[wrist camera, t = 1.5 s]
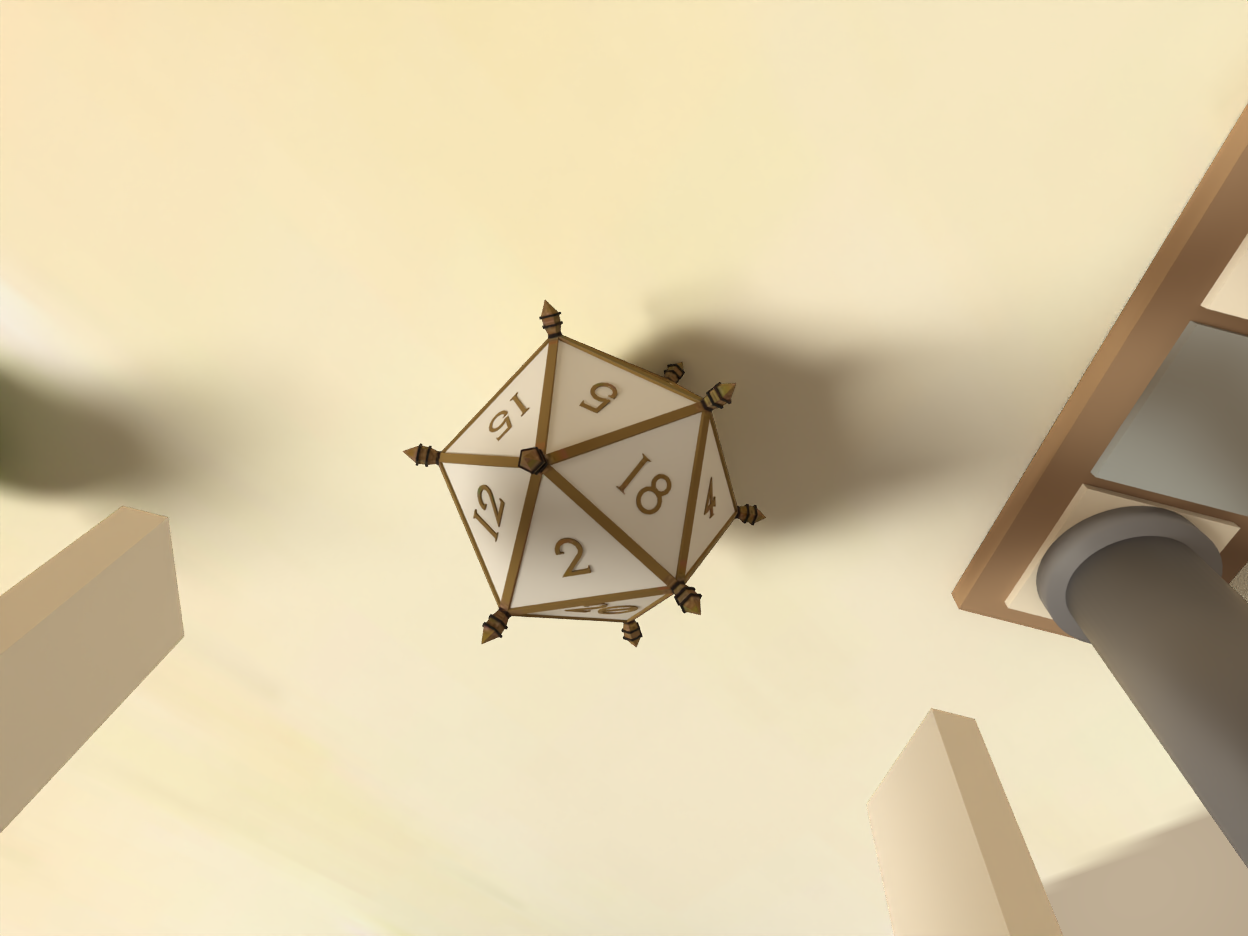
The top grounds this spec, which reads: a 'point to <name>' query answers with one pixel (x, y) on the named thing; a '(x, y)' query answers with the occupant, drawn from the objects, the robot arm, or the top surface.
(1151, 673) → the pawn
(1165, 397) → the track
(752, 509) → the game die
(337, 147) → the top surface
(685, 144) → the top surface
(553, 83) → the top surface
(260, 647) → the top surface
